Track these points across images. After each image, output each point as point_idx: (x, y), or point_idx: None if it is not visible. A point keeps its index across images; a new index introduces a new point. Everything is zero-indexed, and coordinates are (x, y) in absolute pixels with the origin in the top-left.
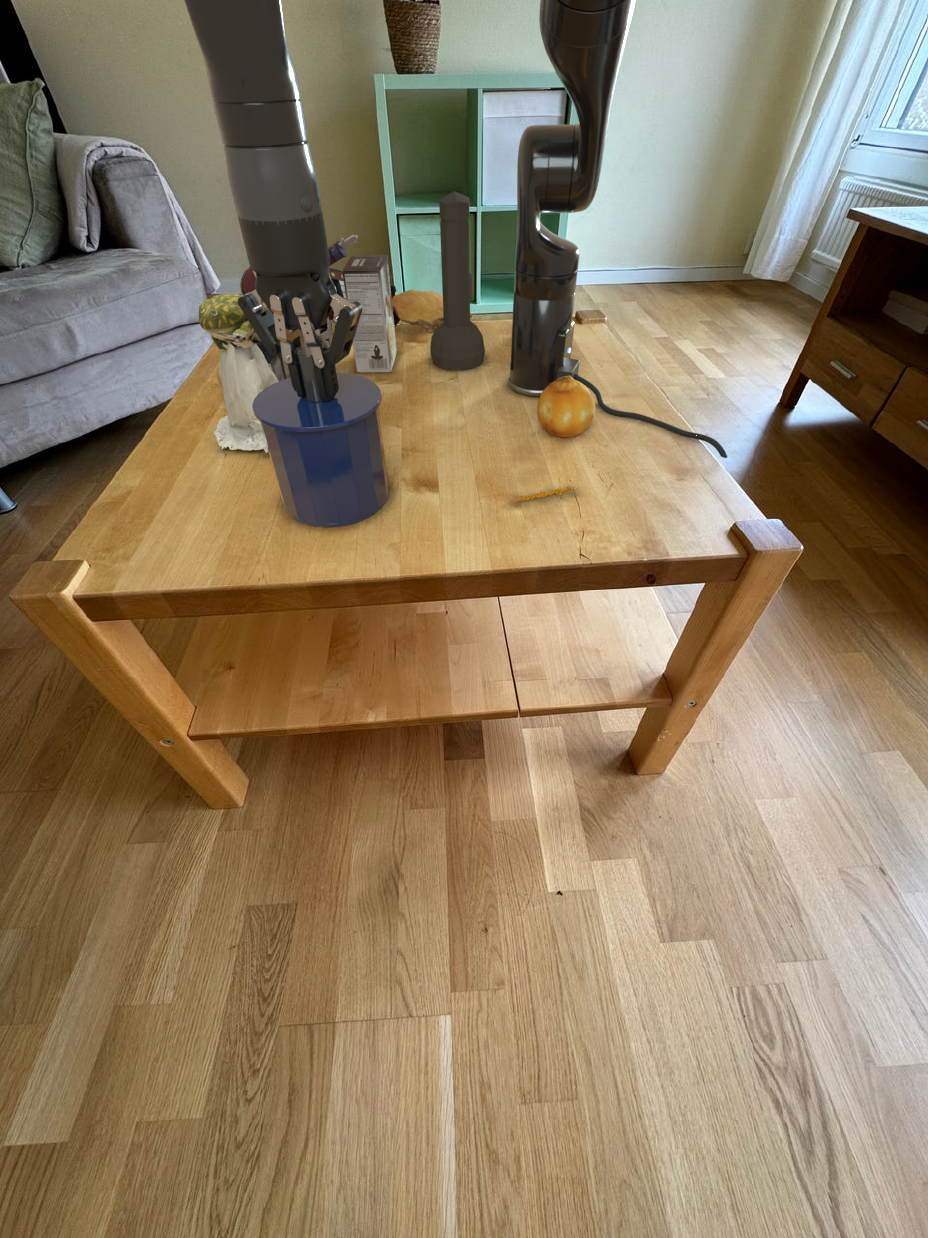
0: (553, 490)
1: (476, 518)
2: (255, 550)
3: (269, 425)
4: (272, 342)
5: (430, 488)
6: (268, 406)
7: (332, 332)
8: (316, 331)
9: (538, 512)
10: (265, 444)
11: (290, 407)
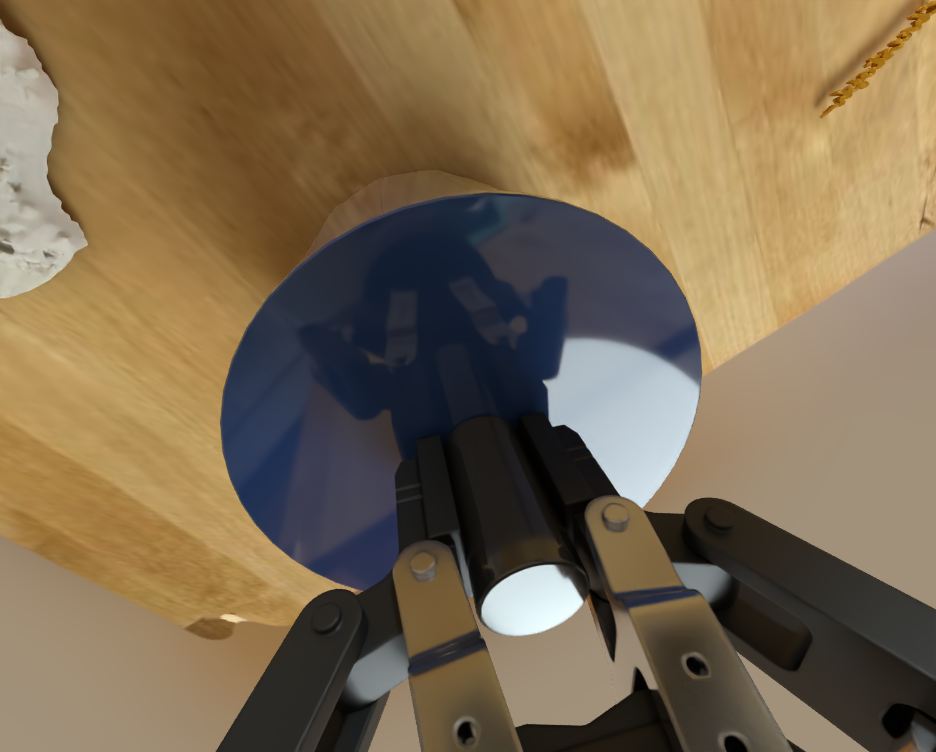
0: (917, 15)
1: (737, 214)
2: None
3: None
4: (376, 723)
5: (611, 154)
6: (381, 560)
7: (701, 594)
8: (643, 679)
9: (862, 122)
10: (65, 240)
11: None
